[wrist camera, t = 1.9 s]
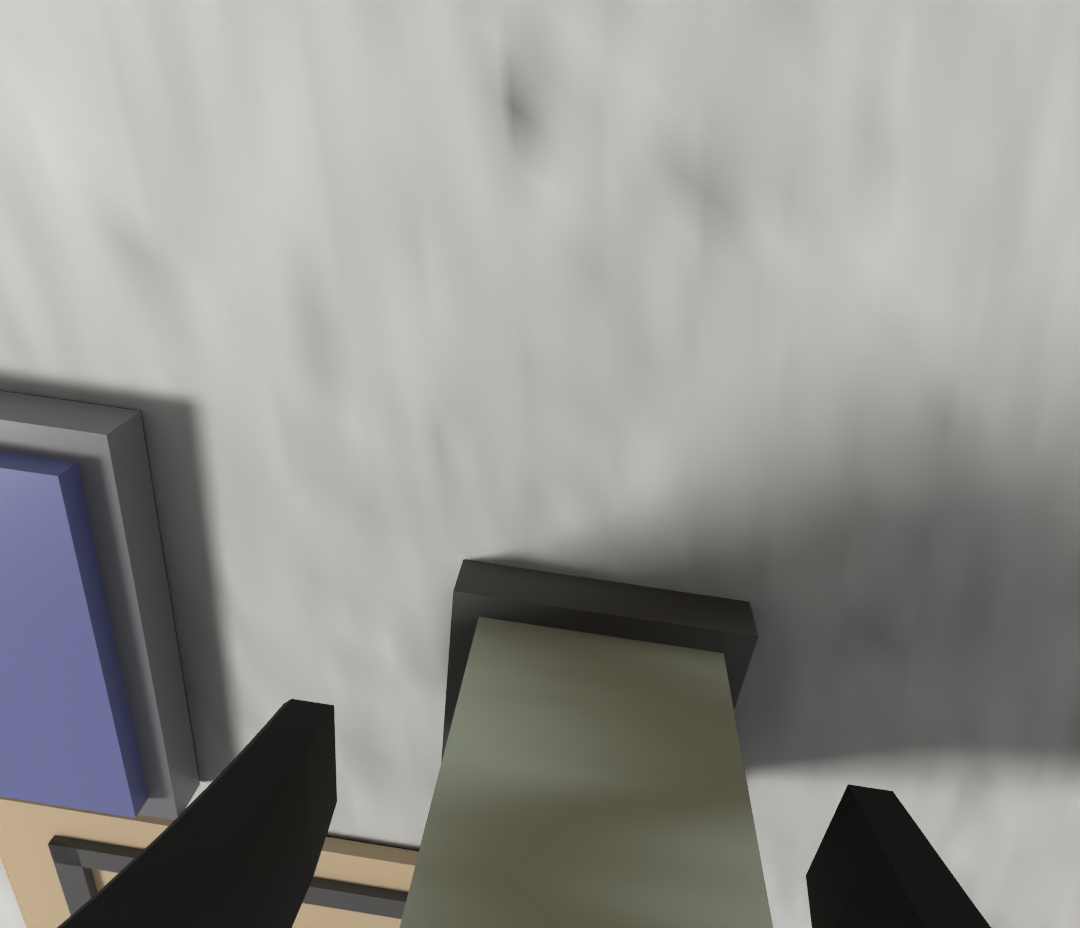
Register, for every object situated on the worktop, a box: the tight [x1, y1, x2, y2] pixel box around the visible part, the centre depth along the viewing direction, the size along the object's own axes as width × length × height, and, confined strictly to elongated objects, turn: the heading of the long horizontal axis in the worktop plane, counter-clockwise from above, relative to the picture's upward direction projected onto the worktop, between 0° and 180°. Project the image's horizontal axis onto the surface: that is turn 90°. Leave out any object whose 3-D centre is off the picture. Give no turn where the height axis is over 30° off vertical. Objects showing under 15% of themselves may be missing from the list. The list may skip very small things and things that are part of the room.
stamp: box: [400, 560, 773, 928], centre depth 9 cm, size 4×4×7 cm
